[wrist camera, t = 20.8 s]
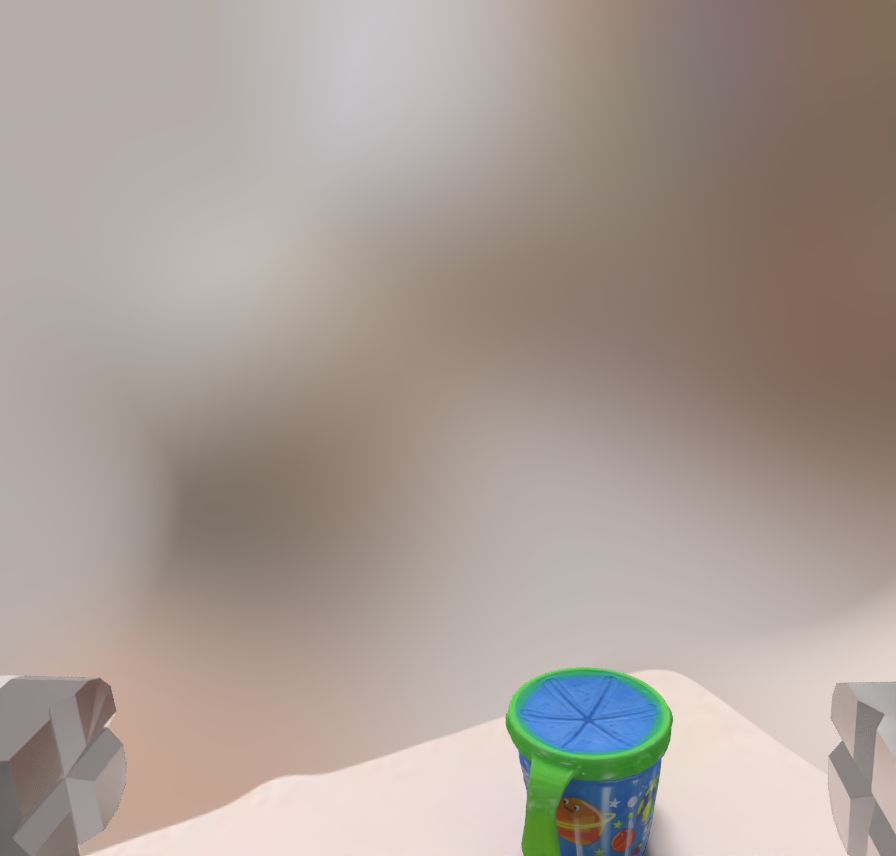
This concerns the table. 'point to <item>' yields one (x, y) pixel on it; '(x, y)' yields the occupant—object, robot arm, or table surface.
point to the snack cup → (588, 760)
